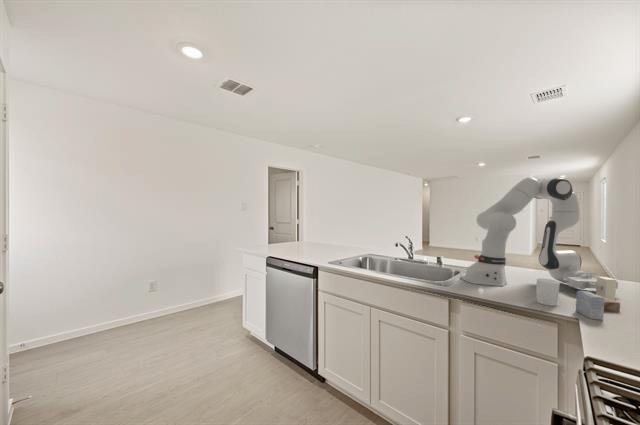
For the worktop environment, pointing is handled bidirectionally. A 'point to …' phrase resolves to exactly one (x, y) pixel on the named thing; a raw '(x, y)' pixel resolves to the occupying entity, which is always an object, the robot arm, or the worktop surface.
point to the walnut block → (611, 305)
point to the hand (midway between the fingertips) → (607, 288)
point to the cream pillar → (606, 287)
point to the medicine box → (590, 305)
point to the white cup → (547, 291)
